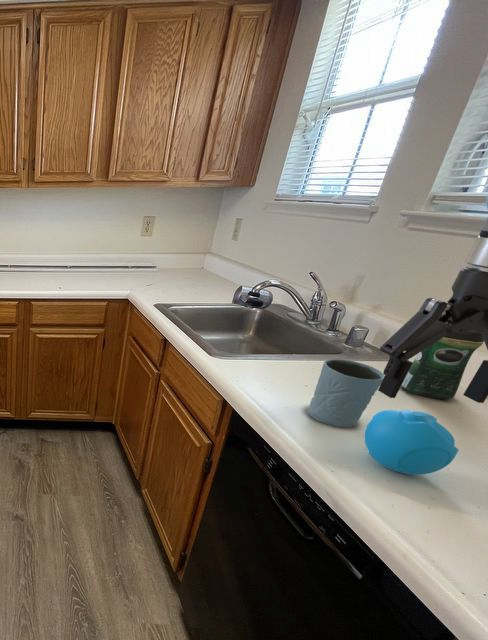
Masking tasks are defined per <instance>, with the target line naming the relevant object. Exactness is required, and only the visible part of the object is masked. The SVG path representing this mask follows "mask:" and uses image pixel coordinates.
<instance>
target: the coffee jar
mask: <svg viewBox="0 0 488 640" xmlns="http://www.w3.org/2000/svg"><path fill="white" fill-rule="evenodd" d="M445 323H447V322H445ZM447 324H448V323H447ZM483 344H485V342H484V339H483V337H482V334H481V332H477V331H474V330H472V331H460V330H459V331H458V332H456V333H453V334H448V335H446V336H445V337H443V338H442V339H440V340H439V341H437V342H435V343H434V344H432V345H431V346H429V347H428V348H426V349H424V350H423V351H421V352H420V353H418V354H417V355H415V357H414V359H413V361H412V362H413V364H412V366H411V367H410V369H409V371H408V373H407V375H406V377H405V379H404V381H403V383H402V385H401V388H402V389H403V390H406V391H407V392H409V393H413V394H416V395H420V396H425V397H429V398H436V399H441V400H450V399H453V398H454V397H455V396H456V394H457V393H458V389H459V387H460V384H461V382H462V381H461V380H462V378H463V376H464V373H465V370H466V367H467V366H468V363H469V361H470V359H471V357H472V356H473V354H474V352H475V351H476V350H478V349H479V348H480V347H481V346H482V345H483Z"/></svg>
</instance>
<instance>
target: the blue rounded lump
mask: <svg viewBox="0 0 488 640" xmlns="http://www.w3.org/2000/svg"><path fill="white" fill-rule="evenodd" d="M437 420H438V419H437V418H436V417H435V416H434V415H433V414H432V415H431V414H429V413H427V412H423V411H417V410H416V411H415V410H414V411H413V410H412V411H411V410H408V409H406V410H405V409H401V410H394V409H386V410H380V411H379V412H377V413H375V414H374V415H372V419H370V421H369V422H368V424H367V425H366V427H365V431H364V443H365V446H366V448H367V451H368V455H369V456H370V458H372V459H373V460H374V461H375V462H377V463H378V464H379V465H381V466H383V467H385V468H387V469H389V470H391V471H394V472H397V473H402V474H406V475H426V474H432V473H435V472H438V471H441V470H442V469H444V468H446V467H447V466H449V465H450V464H451V463H452V462H453V461H454V459H455V458H456V457H457V455H458V453H459V451H460V450H459V448H457V447H456V446H455V445H456V443H455V437H454V436H453V435H452V433H451V432H450V431H449V430H448V429H447V428H446V427H445V426H443V425H442V424H440V423H439V422H438V421H437Z"/></svg>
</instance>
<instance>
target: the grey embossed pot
mask: <svg viewBox="0 0 488 640" xmlns="http://www.w3.org/2000/svg"><path fill="white" fill-rule="evenodd" d="M384 377H385V375H384V374H383V372H382V371H381V370H379V369H377V368H375V367H373V366H371V365H368V364H366V363H362V362H359V361H354V360H348V359H341V358H330V359H326V360H324V361H323V364H322V367H321V370H320V374H319V377H318V380H317V383H316V386H315V389H314V393H313V396H312V398H311V400H310V402H309V405H308V406H309V407H308V410H307V412H308V415H309V416H311V417H312V418H313V419H314V420H317V421H318V422H321V423H323V424H326V425H329V426H333V427H336V428H337V427H338V428H353V427H355V426H356V425H357V423H358V422H359V420H360V418H361V417H362V415H363V414H364V412H365V410H366V409H367V407H368V405H369V404H370V402H371V400H372V397H373V396H374V395H375V393H376V392H377V391H378V389H379V387H380V385H381V383H382V381H383V379H384Z"/></svg>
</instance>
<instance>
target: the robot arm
mask: <svg viewBox="0 0 488 640" xmlns="http://www.w3.org/2000/svg"><path fill="white" fill-rule="evenodd" d="M485 203H486V208H487V209H488V196H487V198H486V202H485ZM465 263H466V264H467V265H468V266H464V267H463V268H460V270H459V272H458V274H457V276H456V277H455V280H454V282H453V283H452V285H451V291H452V296H450V298H449V299H448V300H447V301H445V300H439V299H437V298H433V297H428V298H426V299H425V300H424V302H423V303H422V305H421V306H420V309H419V310H418V311H417V312H416V313H415V314H414V315H413V316H411V317H410V319H408V320H407V321H406V323H404V324H403V325H402V326H401V327H400V328H399V329H397V331H395V333H394V334H393V335H391V336H390V337H389V338H388V339H386V341H385V342H384V343H383V344H382V345H381V346H380V347H379V351H380V352H381V353H384V354H386V355H388V356H389V359H388V361H387V363H386V366H385V367H384V369H383V372H382V373H383V374H384V375H385V377H384V379H383V381H382V383H381V385H380V386H379V388H378V389H377V391H378V392H380V393H382V394H383V395H385V396H386V397H388V398H390V399H395V398H396V397H397V395H398V393H399V391H400V389H401V388H402V386H401V385H402V383H403V381H404V379H405V377H406V375H407V373H408V371H409V369H410V367H411V366H412V364H413V361H412V360H411V361H410V359H412V358H413V357H416V356H417V355H418V353H420V352H421V351H423V350H424V349H426V348H428V347H429V346H431V345H432V344H434V343H435V342H437V341H439V340H440V339H442V338H443V337H445V336H446V335H448V334H453V333H456V332H458V331H459V330H460V331H472V330H474V331H477V332H481V334H482V337H483V339H484V344H485V347H486V350H487V351H488V216H487V218H486V219H485V221H484V223H483V225H482V227H481V229H480V232H479V234H478V236H477V237H476V239H475V241H474V243H473V245H472V247H471V249H470V250H469V252H468V255H467V256H466V259H465ZM445 322H447V323H448V324H447V323H445ZM462 396H464V397H466V398H468V399H470V400H472V401H474V402H476V403H478V404H484V403H485V402H486V400H487V398H488V359H483V360H482V362H481V363H480V365H479V367H478V369H477V370H476V372H475V374H474V376H473V377H472V378H471V381H470V382H469V384H468V386H467V387H466V389H465V391H464V393H463V395H462Z"/></svg>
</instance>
